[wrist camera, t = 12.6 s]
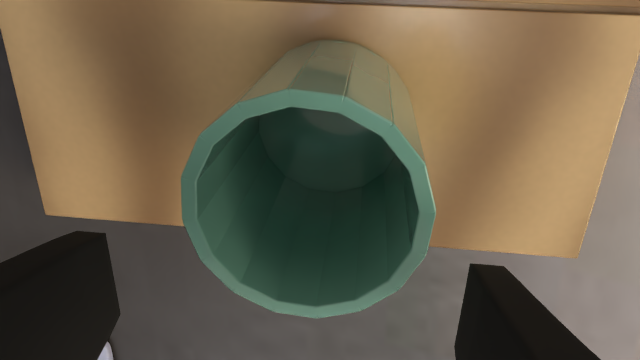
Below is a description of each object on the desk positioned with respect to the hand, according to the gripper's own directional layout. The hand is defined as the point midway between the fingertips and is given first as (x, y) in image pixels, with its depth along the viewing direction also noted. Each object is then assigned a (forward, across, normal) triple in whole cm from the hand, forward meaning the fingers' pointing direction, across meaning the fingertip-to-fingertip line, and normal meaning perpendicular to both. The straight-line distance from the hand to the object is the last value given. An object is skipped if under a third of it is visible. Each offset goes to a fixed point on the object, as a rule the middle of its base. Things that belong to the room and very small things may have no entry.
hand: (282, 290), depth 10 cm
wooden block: (+10, +1, -1) cm, 10 cm away
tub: (+8, 0, -1) cm, 8 cm away
